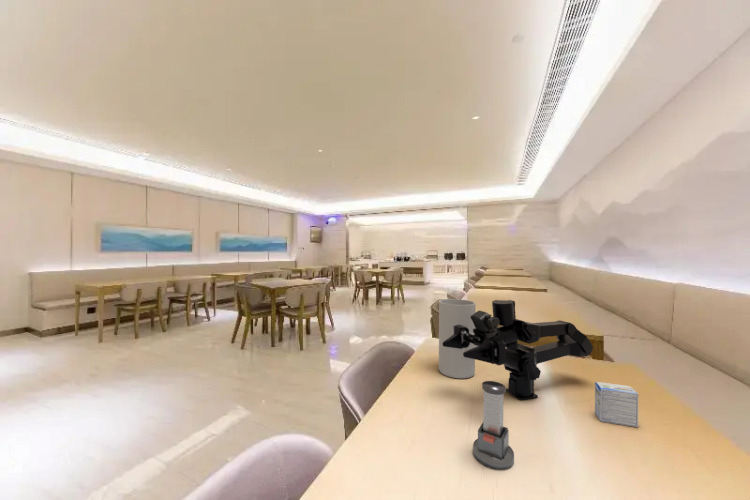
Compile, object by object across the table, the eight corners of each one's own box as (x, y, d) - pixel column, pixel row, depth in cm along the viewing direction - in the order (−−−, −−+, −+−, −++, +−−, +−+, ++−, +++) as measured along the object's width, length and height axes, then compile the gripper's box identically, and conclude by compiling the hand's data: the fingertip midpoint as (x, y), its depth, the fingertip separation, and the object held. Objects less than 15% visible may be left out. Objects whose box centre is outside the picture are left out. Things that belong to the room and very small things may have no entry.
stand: (479, 439, 69) (479, 414, 69) (517, 453, 64) (517, 426, 64) (467, 458, 62) (468, 431, 62) (509, 476, 57) (509, 446, 58)
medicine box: (630, 419, 78) (630, 385, 78) (638, 428, 74) (639, 393, 74) (594, 413, 80) (594, 381, 81) (600, 422, 76) (600, 388, 76)
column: (485, 438, 66) (485, 379, 66) (507, 446, 64) (507, 384, 64) (478, 449, 63) (479, 386, 63) (502, 458, 60) (502, 392, 60)
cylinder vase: (469, 382, 98) (470, 306, 99) (433, 374, 105) (434, 302, 105) (478, 370, 109) (479, 301, 109) (445, 363, 116) (445, 298, 116)
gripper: (473, 304, 96) (431, 313, 90) (521, 317, 78) (473, 328, 73) (476, 339, 96) (434, 349, 90) (524, 359, 79) (477, 373, 73)
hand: (452, 349), depth 81 cm, fingers open, 9 cm apart
